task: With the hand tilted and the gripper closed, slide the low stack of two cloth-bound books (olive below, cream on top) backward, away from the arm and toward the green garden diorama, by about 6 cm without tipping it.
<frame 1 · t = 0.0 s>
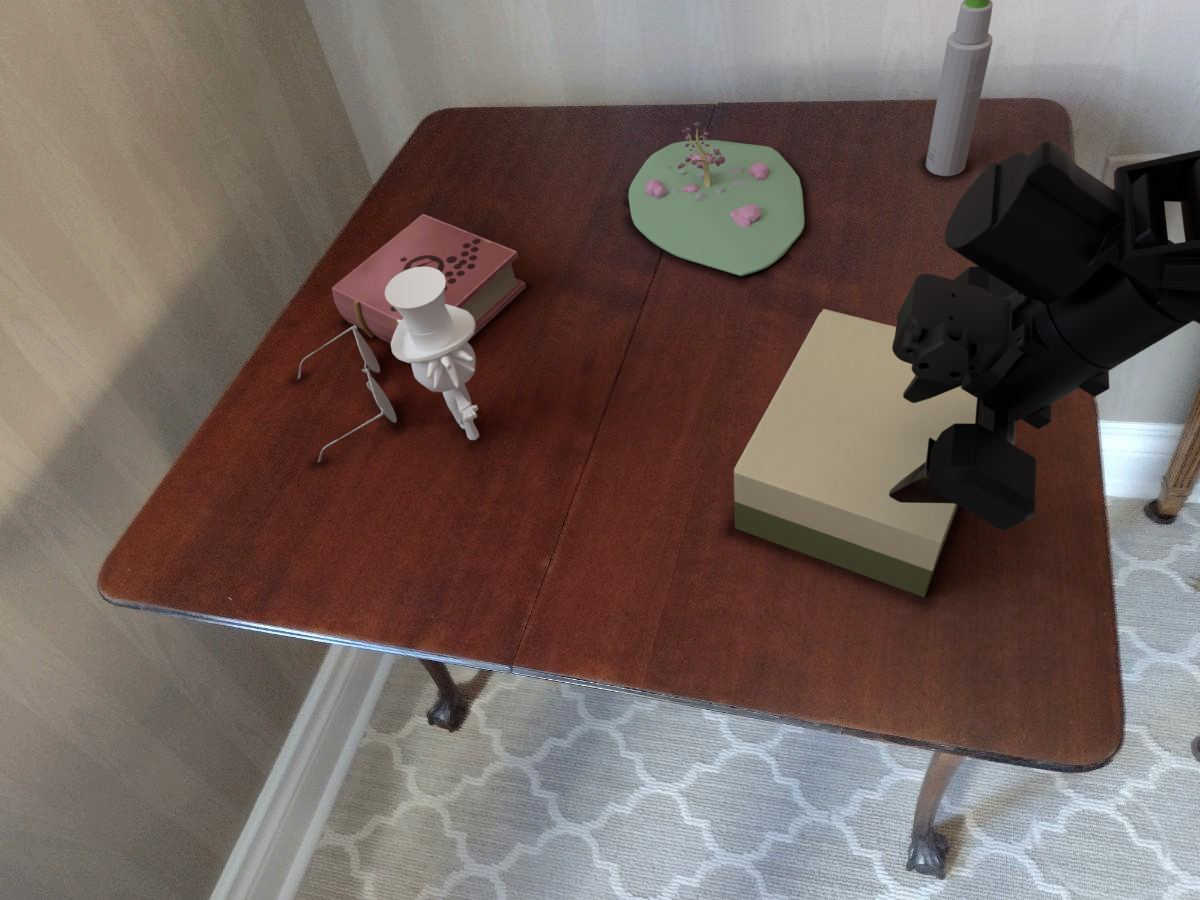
hand: (901, 446, 63), 13 cm above the table, tool tilted 35°, fingers open, 9 cm apart
sunglasses: (348, 405, 91), on the table
green garden diorama: (723, 207, 104), on the table
book stack: (865, 472, 77), on the table
book: (434, 308, 99), on the table
figurine: (468, 428, 87), on the table
bottle: (944, 167, 103), on the table
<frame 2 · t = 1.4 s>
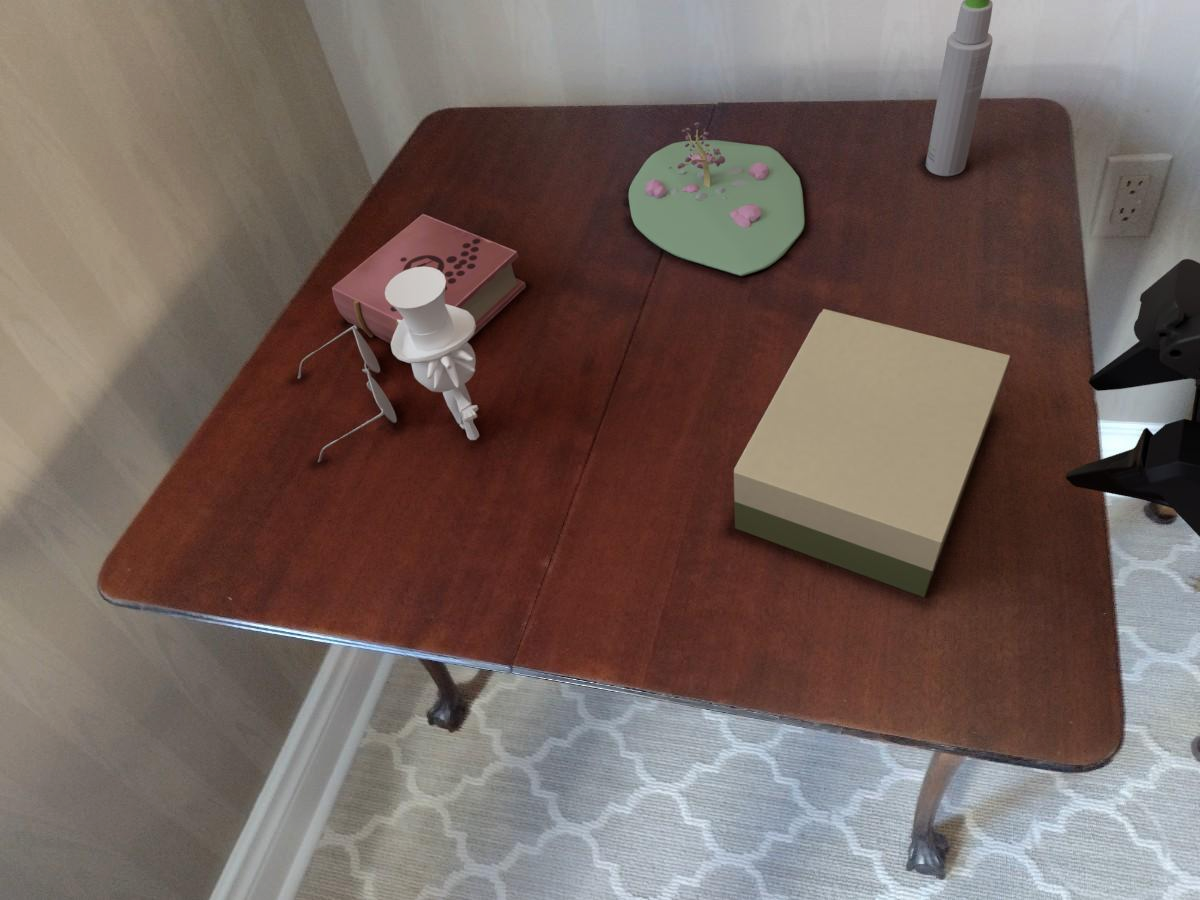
hand: (1081, 430, 62), 13 cm above the table, tool tilted 40°, fingers open, 9 cm apart
nothing on the table moved.
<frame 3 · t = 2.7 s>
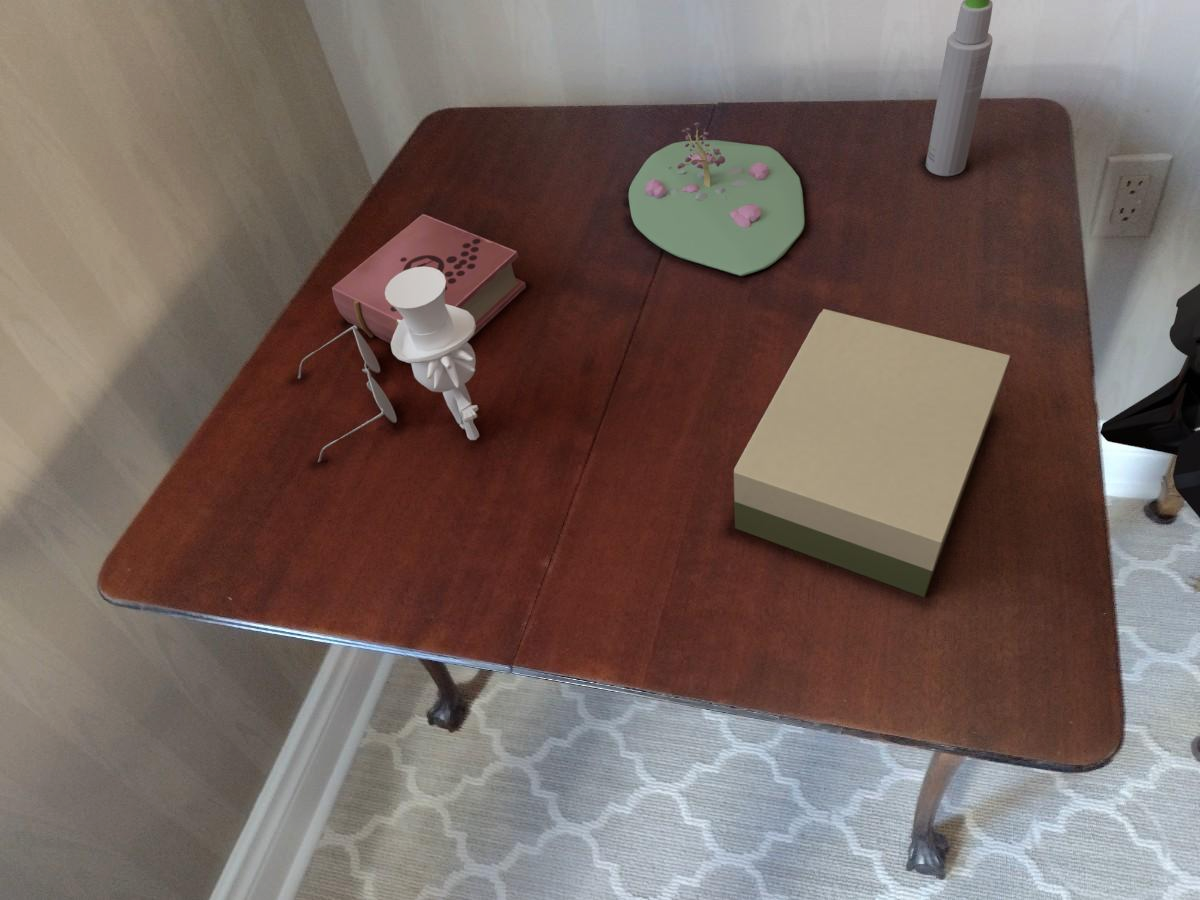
hand: (1104, 432, 62), 13 cm above the table, tool tilted 45°, fingers closed
nothing on the table moved.
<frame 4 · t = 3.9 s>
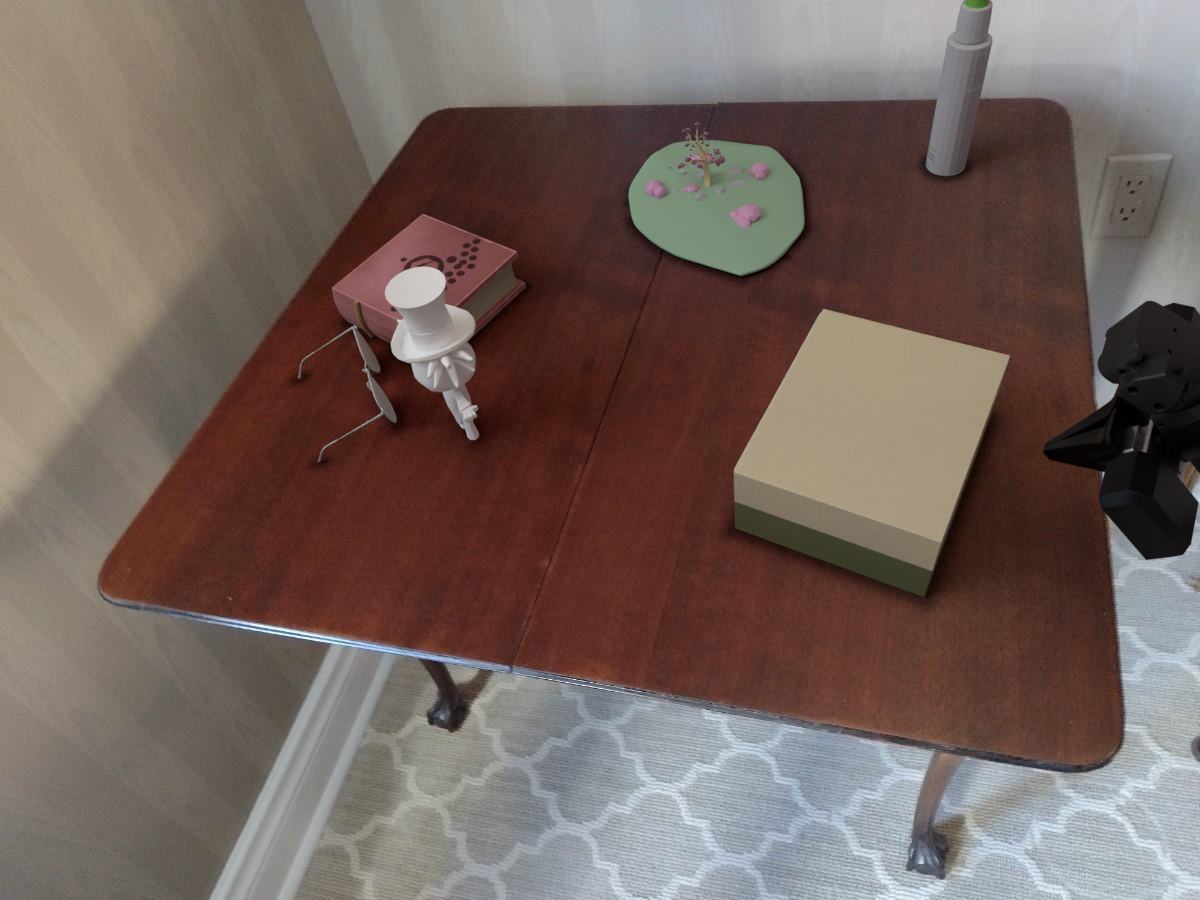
hand: (1046, 452, 65), 9 cm above the table, tool tilted 45°, fingers closed
nothing on the table moved.
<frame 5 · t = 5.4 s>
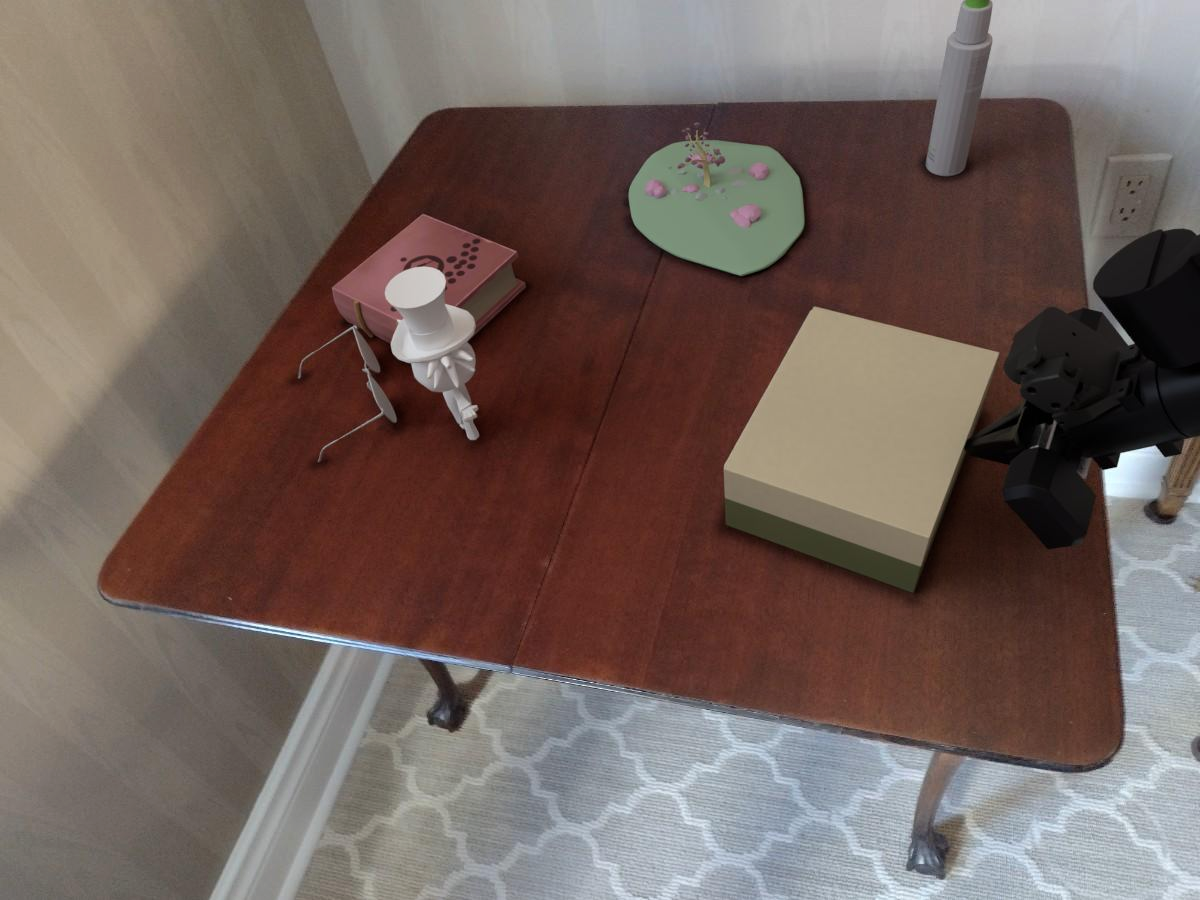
hand: (967, 448, 69), 7 cm above the table, tool tilted 45°, fingers closed, pressing on book stack
book stack: (855, 468, 78), on the table, touching gripper
everything else where it was.
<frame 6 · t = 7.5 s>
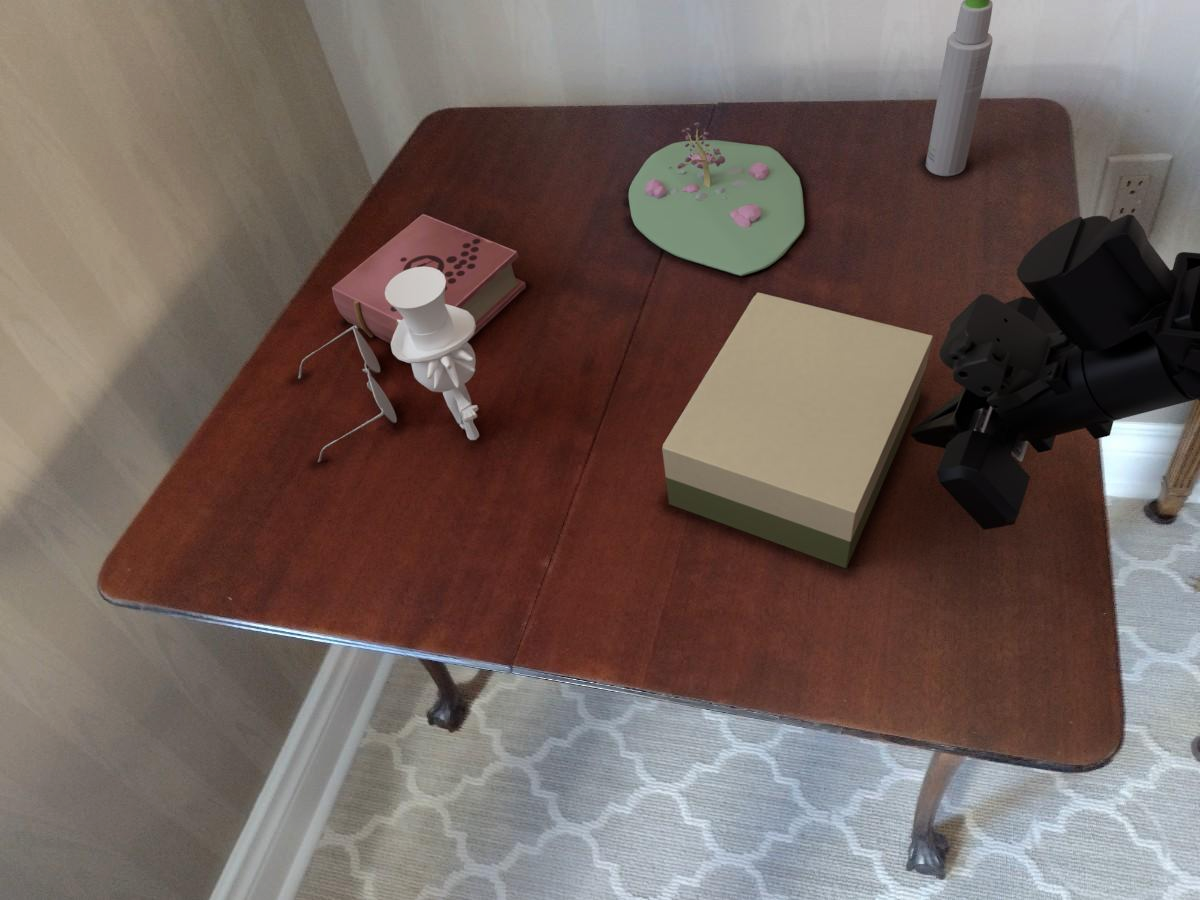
hand: (914, 435, 71), 7 cm above the table, tool tilted 45°, fingers closed
book stack: (797, 450, 80), on the table
everything else where it was.
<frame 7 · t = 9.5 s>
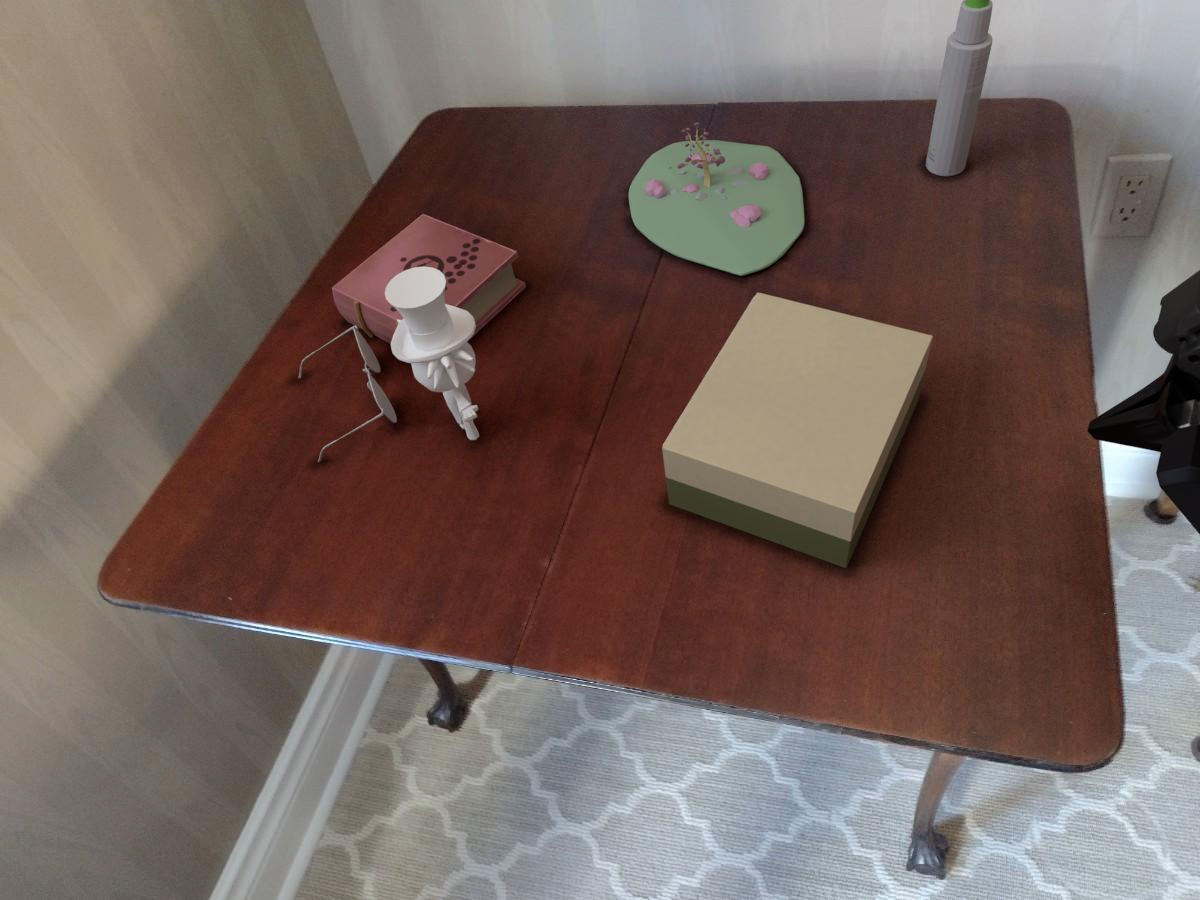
hand: (1091, 431, 62), 12 cm above the table, tool tilted 45°, fingers closed
nothing on the table moved.
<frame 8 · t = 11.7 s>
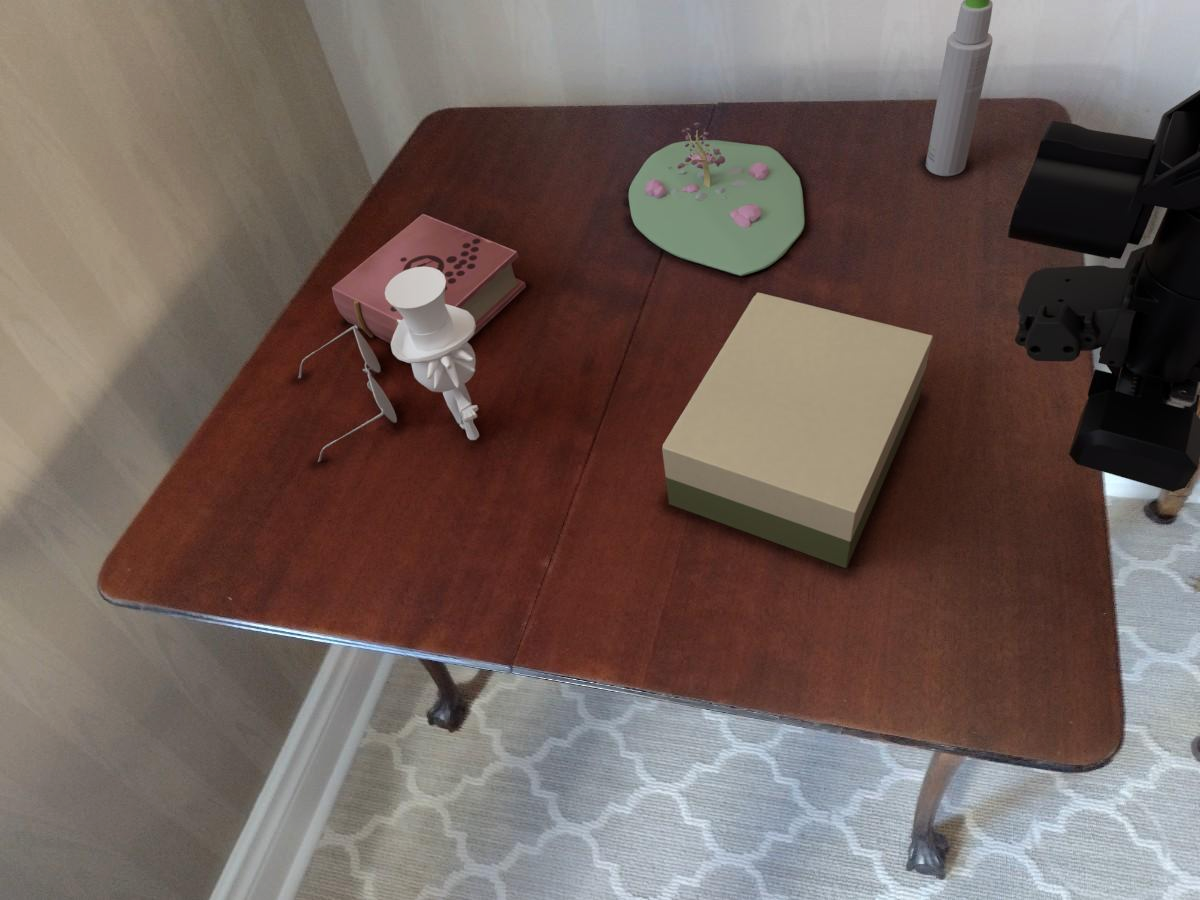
hand: (1113, 442, 62), 12 cm above the table, tool pointing down, fingers closed
nothing on the table moved.
at the end: book stack moved 6.3 cm from its start; book stack tilted 0° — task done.
